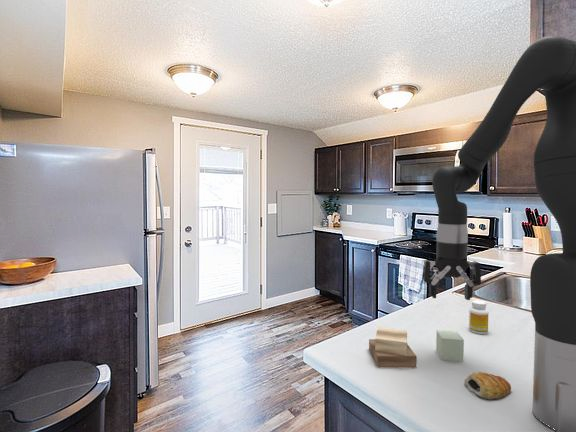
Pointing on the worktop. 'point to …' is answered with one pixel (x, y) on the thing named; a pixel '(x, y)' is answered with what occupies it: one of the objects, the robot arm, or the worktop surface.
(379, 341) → the block top
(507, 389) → the pastry
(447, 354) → the sage block
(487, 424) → the worktop surface
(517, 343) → the worktop surface
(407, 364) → the block bottom
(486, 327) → the supplement bottle
